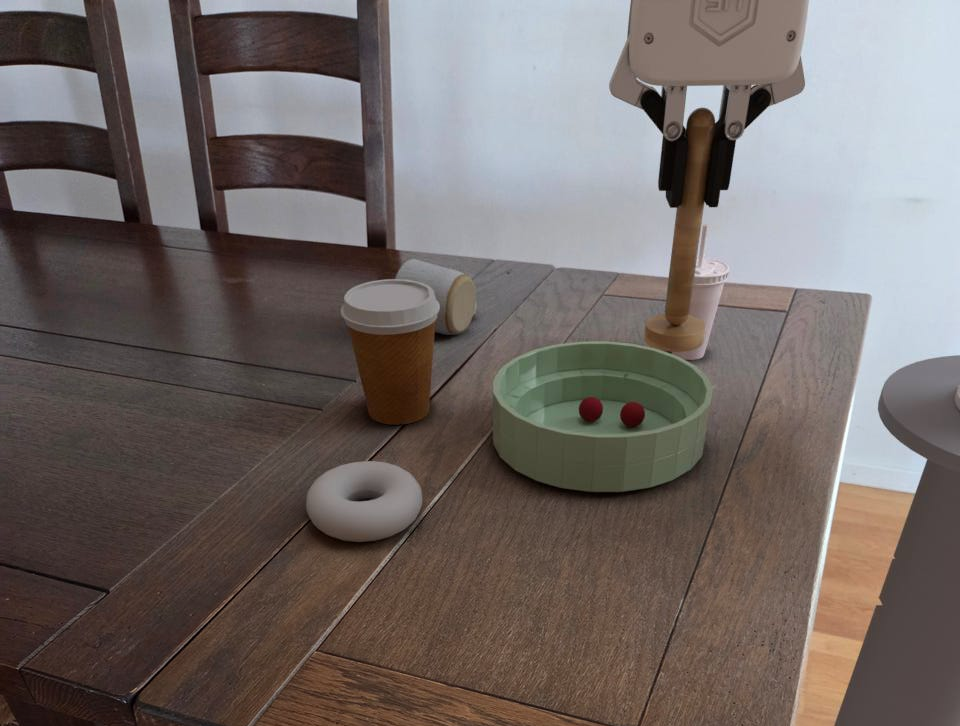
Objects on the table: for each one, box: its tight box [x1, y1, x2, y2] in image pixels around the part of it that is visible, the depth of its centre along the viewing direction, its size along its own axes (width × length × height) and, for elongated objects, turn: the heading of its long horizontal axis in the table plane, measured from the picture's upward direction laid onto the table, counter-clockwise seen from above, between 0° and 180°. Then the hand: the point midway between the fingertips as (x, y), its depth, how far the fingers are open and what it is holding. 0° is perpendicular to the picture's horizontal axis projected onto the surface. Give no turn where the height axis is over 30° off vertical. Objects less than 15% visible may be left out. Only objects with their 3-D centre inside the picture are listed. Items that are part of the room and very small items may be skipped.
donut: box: [305, 460, 424, 543], centre depth 76 cm, size 10×3×10 cm
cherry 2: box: [620, 402, 645, 427], centre depth 87 cm, size 2×2×2 cm
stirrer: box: [643, 107, 716, 353], centre depth 62 cm, size 4×4×15 cm
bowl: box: [492, 340, 714, 493], centre depth 84 cm, size 20×20×6 cm
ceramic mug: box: [394, 258, 478, 336], centre depth 107 cm, size 11×8×8 cm
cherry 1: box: [579, 397, 603, 422], centre depth 88 cm, size 2×2×2 cm
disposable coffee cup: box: [340, 278, 440, 426], centre depth 88 cm, size 10×10×12 cm
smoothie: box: [671, 224, 730, 361], centre depth 97 cm, size 6×6×14 cm
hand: (691, 200), depth 60 cm, fingers closed on stirrer
